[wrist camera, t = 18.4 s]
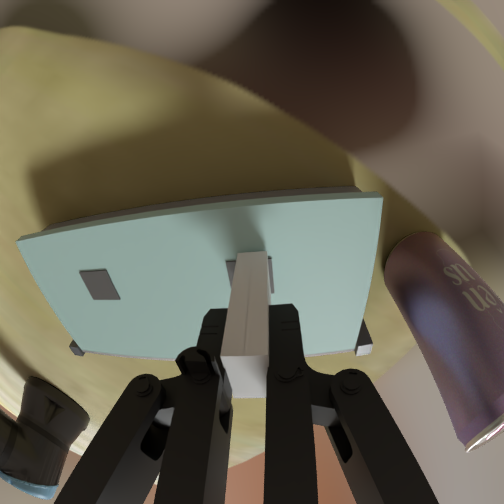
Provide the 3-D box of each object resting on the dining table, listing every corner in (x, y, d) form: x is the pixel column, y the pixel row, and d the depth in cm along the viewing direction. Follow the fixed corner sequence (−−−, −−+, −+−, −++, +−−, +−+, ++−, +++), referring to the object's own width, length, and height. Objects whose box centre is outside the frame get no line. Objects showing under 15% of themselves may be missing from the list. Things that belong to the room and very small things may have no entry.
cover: (87, 347, 21) (84, 354, 21) (21, 236, 15) (14, 242, 14) (351, 345, 20) (353, 354, 19) (377, 191, 13) (384, 198, 12)
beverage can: (374, 294, 20) (442, 466, 7) (388, 227, 17) (514, 408, 4) (431, 289, 20) (510, 428, 7) (448, 227, 17) (569, 363, 4)
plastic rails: (88, 330, 24) (74, 354, 21) (40, 227, 18) (15, 245, 15) (359, 323, 22) (370, 353, 19) (374, 185, 16) (399, 203, 13)
